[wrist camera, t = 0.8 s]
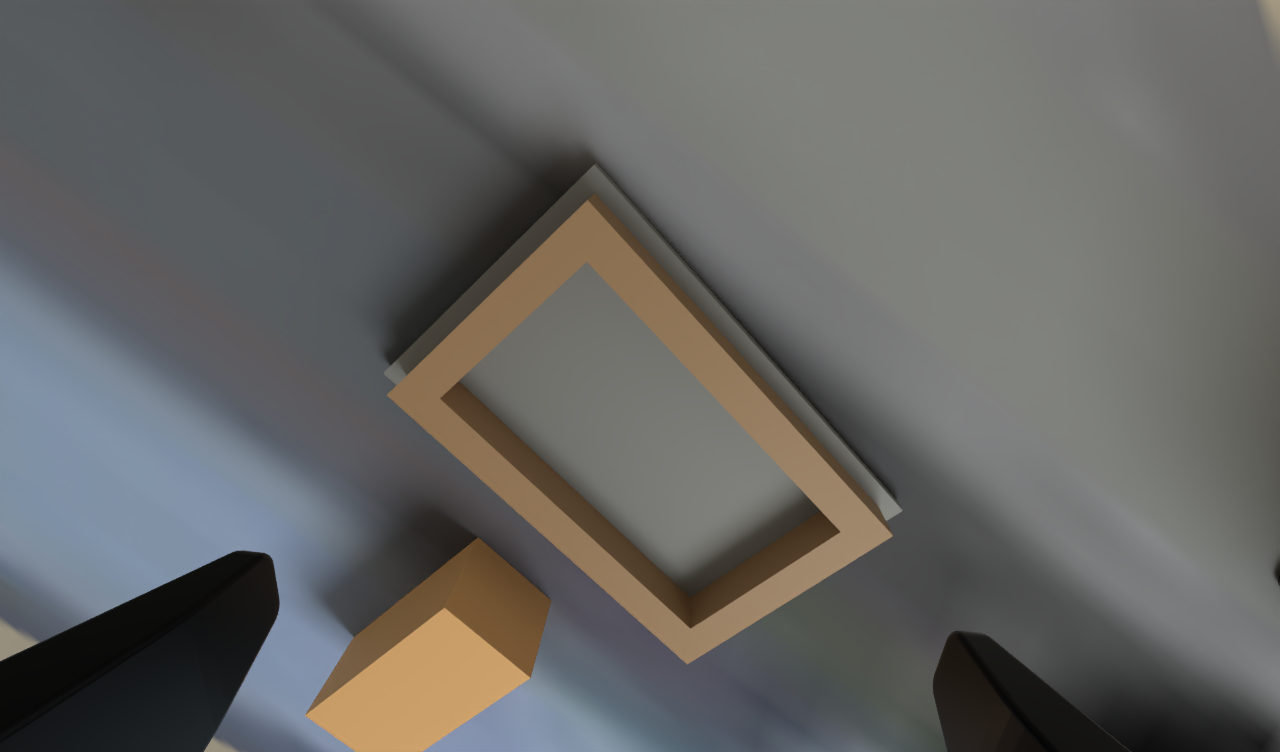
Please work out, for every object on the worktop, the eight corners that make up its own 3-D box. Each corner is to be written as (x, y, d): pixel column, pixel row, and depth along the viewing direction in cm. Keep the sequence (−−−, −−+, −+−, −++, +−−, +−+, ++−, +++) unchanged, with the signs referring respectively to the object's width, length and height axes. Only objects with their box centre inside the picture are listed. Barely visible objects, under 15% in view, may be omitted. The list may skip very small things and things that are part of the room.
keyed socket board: (897, 500, 23) (917, 538, 21) (686, 636, 26) (686, 680, 24) (596, 162, 19) (586, 169, 17) (390, 366, 22) (361, 392, 20)
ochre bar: (479, 534, 25) (444, 607, 21) (552, 597, 26) (530, 678, 22) (355, 633, 27) (304, 715, 24) (426, 688, 28) (388, 774, 25)
